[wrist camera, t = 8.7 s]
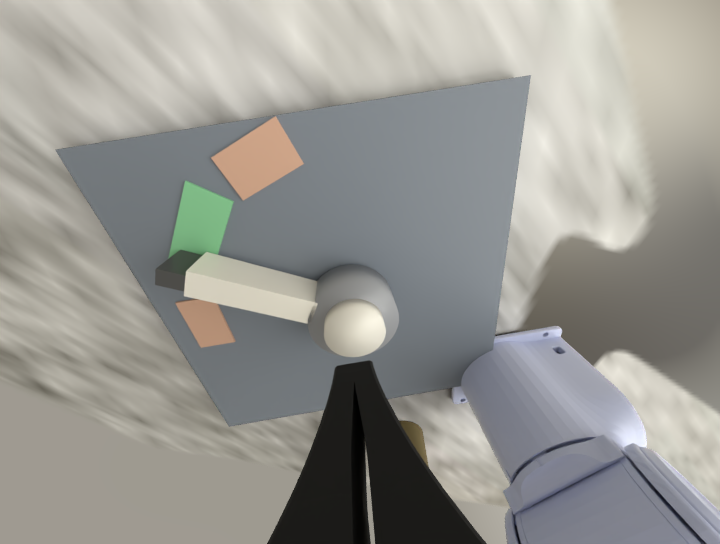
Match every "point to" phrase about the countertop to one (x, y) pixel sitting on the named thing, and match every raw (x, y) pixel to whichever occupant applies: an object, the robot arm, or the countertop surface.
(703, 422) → the countertop surface
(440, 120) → the board
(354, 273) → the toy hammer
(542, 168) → the countertop surface
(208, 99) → the countertop surface
